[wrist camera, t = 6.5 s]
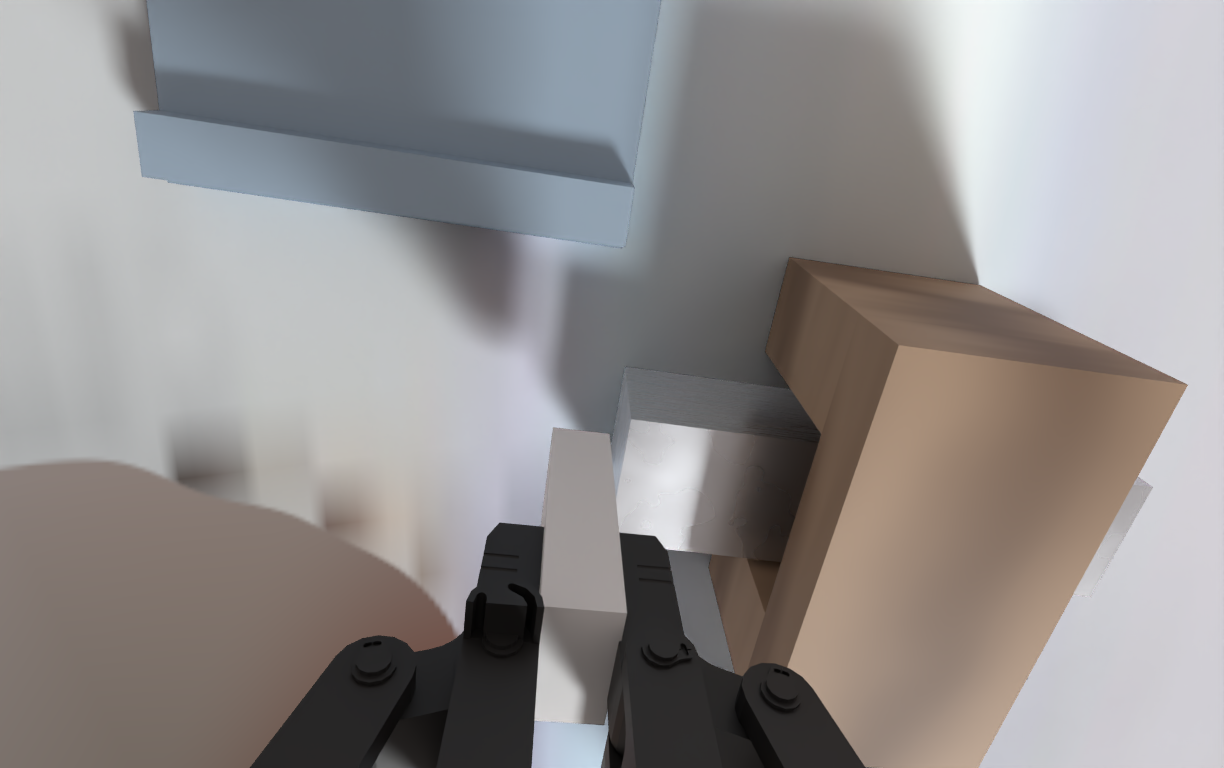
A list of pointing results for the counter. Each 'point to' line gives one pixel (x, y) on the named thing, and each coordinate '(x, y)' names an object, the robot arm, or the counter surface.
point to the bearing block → (935, 503)
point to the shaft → (737, 468)
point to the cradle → (408, 107)
